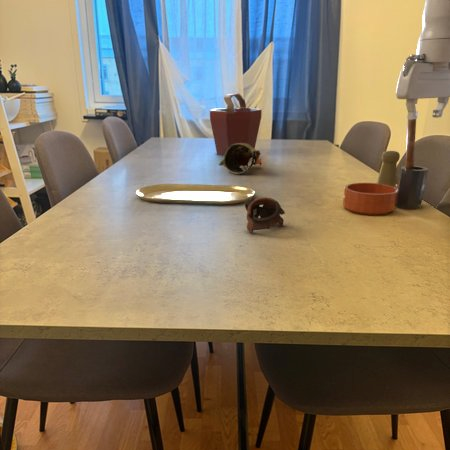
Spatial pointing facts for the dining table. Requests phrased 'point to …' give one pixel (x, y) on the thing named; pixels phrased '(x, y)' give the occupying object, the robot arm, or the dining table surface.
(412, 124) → the stirring stick
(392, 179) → the pepper mill
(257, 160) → the pot
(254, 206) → the dark brown hollow piece
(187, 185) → the serving platter
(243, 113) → the bucket
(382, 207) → the bowl
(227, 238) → the dining table surface
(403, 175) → the utensil pot
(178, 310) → the dining table surface
